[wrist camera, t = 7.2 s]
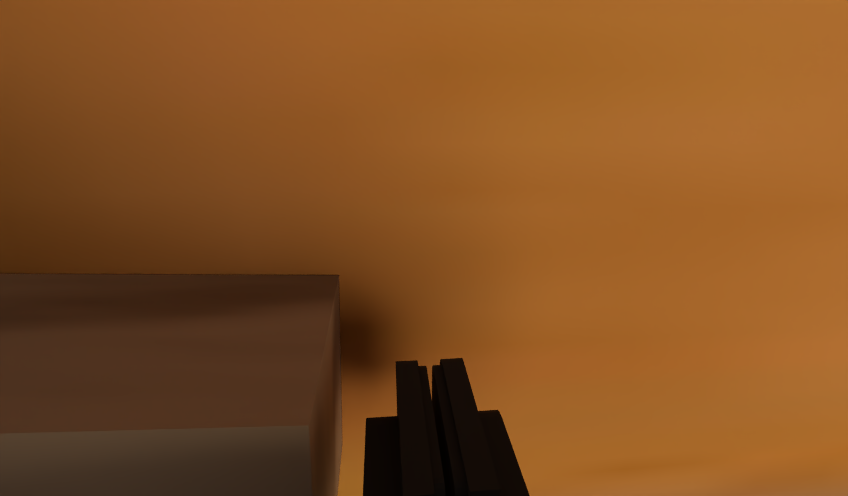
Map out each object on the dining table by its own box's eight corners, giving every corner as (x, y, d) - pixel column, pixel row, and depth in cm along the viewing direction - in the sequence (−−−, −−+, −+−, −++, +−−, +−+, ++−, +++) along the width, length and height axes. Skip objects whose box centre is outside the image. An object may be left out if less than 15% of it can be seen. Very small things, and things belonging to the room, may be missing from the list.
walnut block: (-10, 273, 12) (-336, 442, 7) (338, 275, 13) (309, 425, 8) (44, 453, 14) (-170, 697, 9) (342, 444, 15) (320, 660, 10)
